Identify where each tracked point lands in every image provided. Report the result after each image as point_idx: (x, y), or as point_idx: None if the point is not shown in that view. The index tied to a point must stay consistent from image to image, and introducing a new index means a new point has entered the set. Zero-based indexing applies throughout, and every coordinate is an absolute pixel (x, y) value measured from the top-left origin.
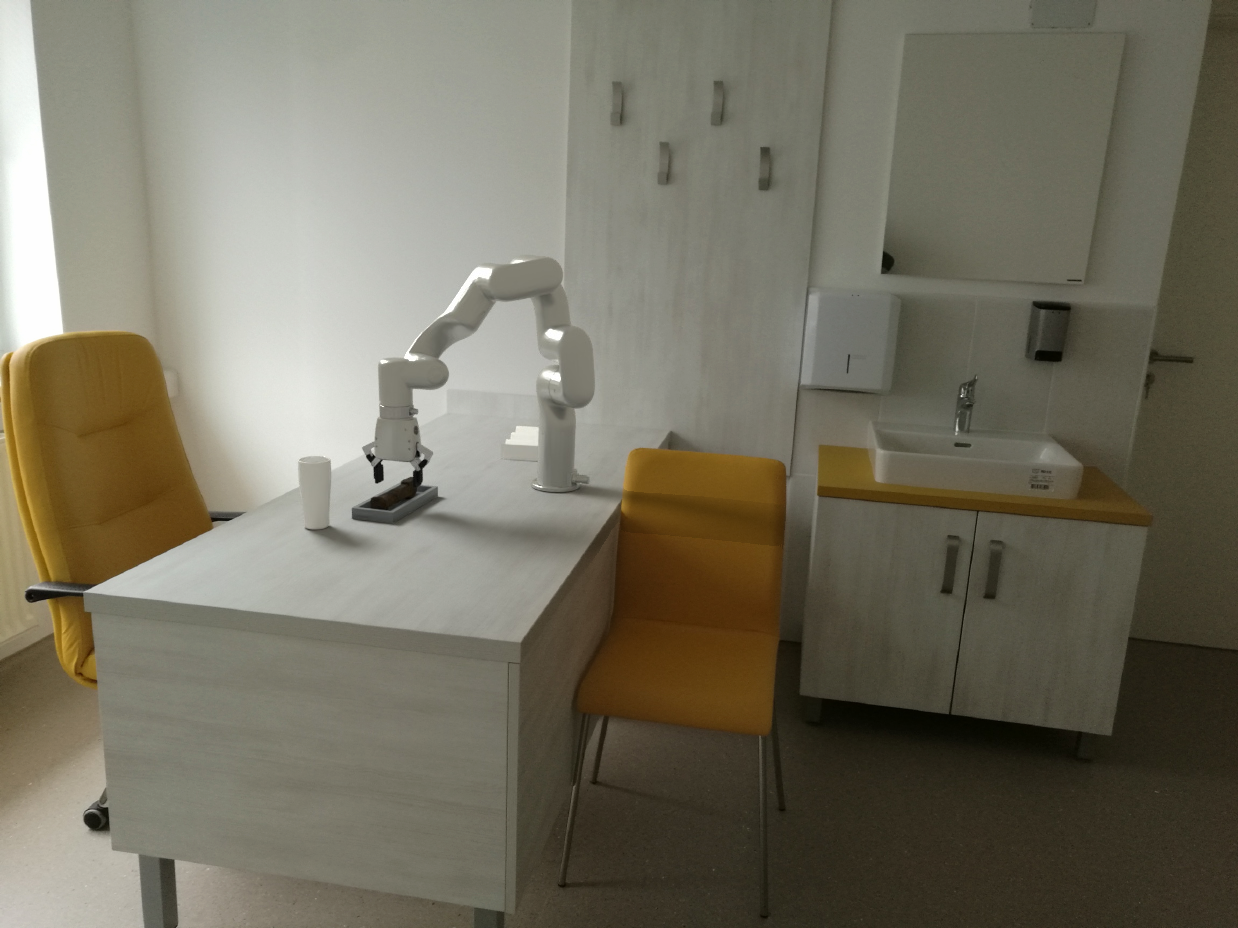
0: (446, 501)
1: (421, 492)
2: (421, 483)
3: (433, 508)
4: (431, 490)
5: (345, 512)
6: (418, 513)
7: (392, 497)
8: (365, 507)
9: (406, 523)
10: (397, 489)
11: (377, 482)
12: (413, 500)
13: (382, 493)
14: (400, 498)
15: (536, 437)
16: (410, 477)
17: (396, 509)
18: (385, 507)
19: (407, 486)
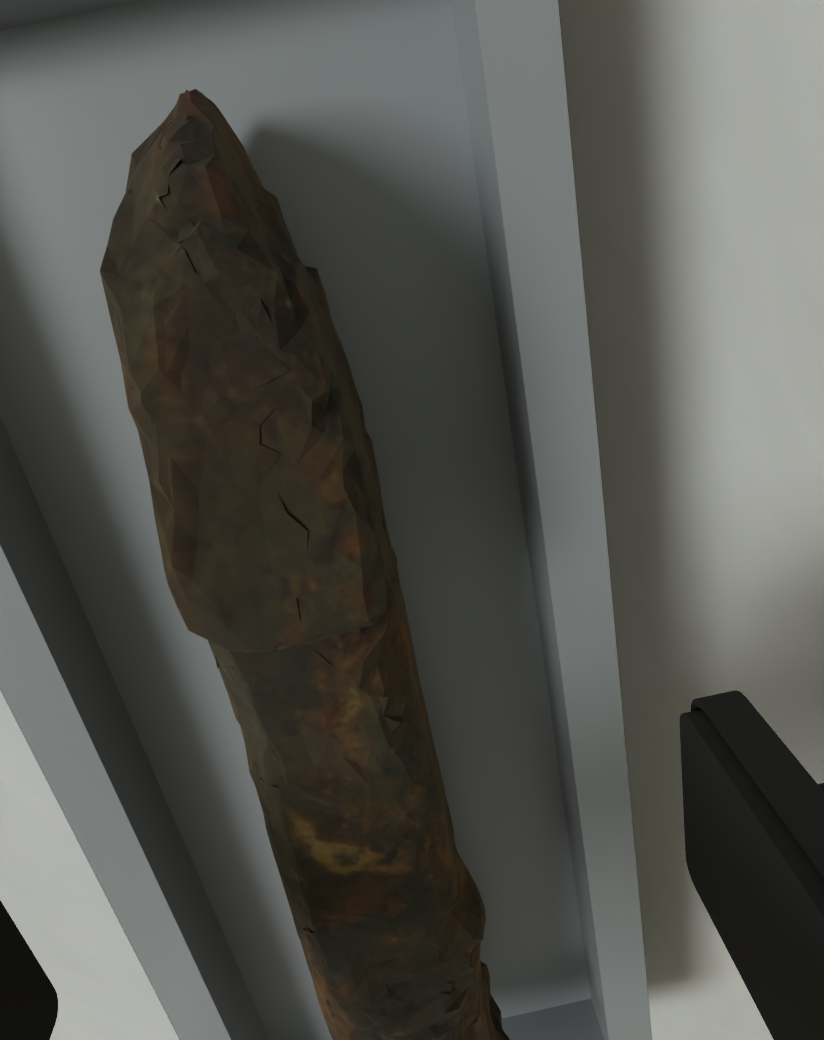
0: (746, 82)
1: (263, 36)
2: (738, 696)
3: (727, 470)
4: (569, 143)
5: (70, 996)
6: (666, 691)
7: (476, 974)
8: (241, 1001)
9: (711, 925)
10: (393, 857)
11: (47, 1018)
12: (619, 734)
13: (66, 727)
14: (440, 772)
15: None
16: (173, 344)
17: (634, 1016)
18: (501, 1028)
19: (386, 633)
